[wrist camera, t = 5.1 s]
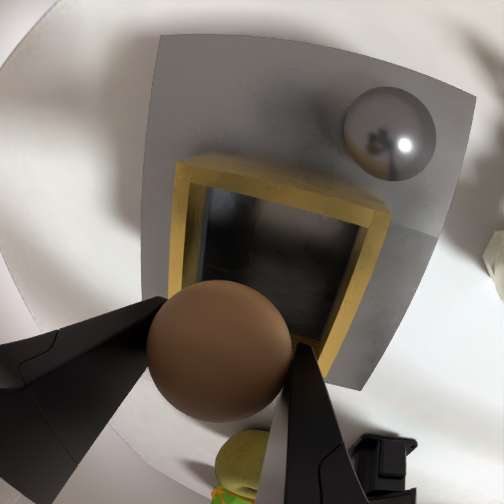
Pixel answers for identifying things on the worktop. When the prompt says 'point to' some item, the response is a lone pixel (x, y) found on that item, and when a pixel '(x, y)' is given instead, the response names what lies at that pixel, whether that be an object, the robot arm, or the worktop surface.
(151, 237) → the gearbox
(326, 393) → the robot arm
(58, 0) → the worktop surface
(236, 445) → the apple
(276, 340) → the bead
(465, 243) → the worktop surface
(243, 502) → the corn
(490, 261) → the valve
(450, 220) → the worktop surface
